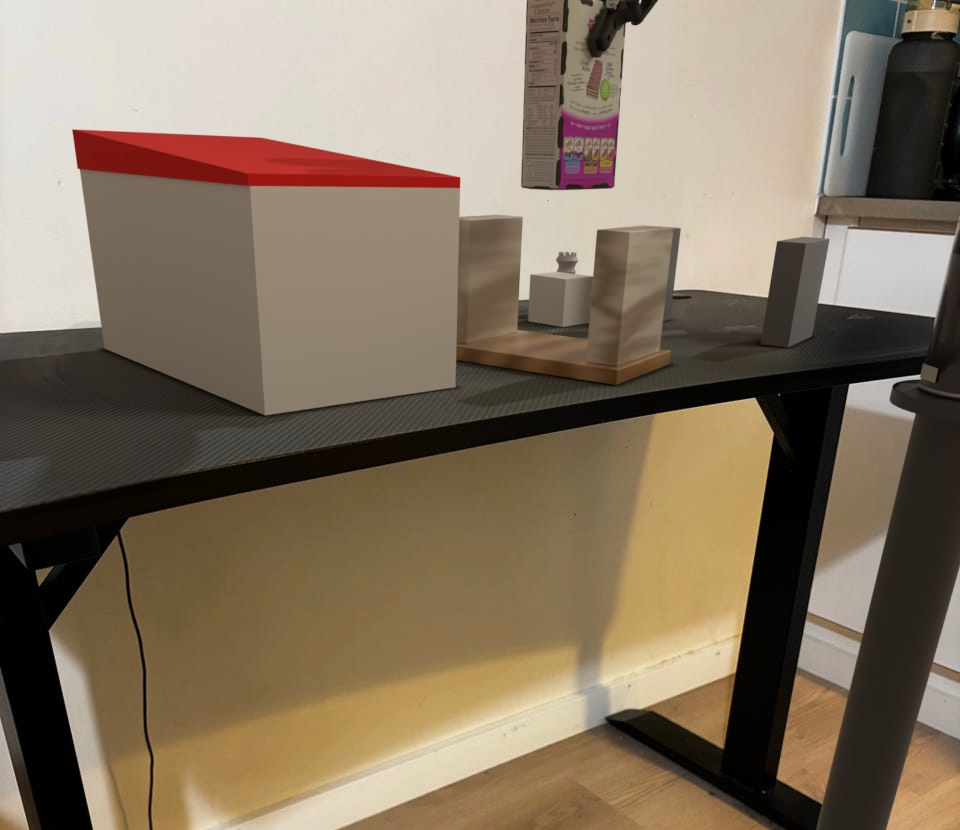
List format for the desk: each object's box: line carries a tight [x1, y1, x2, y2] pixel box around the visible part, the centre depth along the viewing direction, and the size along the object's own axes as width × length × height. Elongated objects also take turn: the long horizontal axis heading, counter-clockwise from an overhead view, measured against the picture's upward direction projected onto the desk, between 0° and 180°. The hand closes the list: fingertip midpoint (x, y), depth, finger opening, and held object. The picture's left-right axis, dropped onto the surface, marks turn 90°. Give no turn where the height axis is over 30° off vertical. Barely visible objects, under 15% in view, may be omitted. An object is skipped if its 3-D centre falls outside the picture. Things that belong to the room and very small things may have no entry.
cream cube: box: [527, 271, 593, 328], centre depth 130 cm, size 6×6×6 cm
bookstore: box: [71, 128, 461, 416], centre depth 93 cm, size 21×35×21 cm, turn 41°
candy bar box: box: [520, 0, 627, 191], centre depth 96 cm, size 11×5×16 cm, turn 143°
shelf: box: [456, 214, 674, 386], centre depth 103 cm, size 23×14×14 cm, turn 58°
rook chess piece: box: [555, 251, 579, 274], centre depth 138 cm, size 4×4×8 cm
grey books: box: [658, 225, 830, 349], centre depth 126 cm, size 24×11×12 cm, turn 58°
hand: (566, 49), depth 93 cm, fingers closed on candy bar box, 5 cm apart
